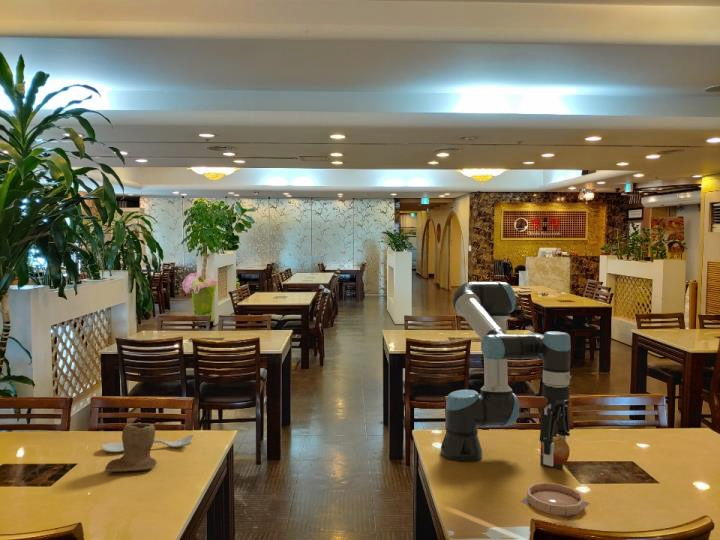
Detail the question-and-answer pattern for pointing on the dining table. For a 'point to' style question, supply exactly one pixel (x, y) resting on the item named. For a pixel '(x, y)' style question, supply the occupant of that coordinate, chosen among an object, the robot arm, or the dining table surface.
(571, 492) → the bowl
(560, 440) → the fruit
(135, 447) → the brown boot
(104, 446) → the spoon
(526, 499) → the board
